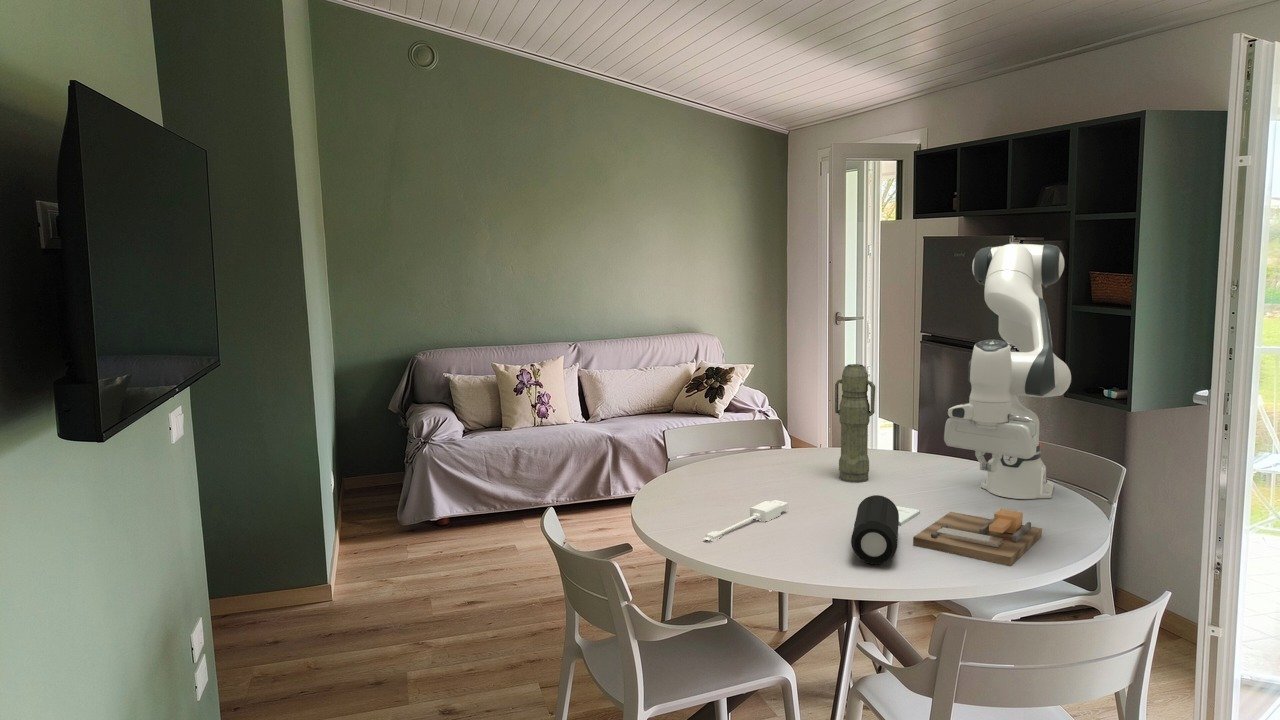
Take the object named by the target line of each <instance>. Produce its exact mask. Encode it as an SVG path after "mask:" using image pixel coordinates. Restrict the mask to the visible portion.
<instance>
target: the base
mask: <svg viewBox="0 0 1280 720" xmlns="http://www.w3.org/2000/svg"><path fill="white" fill-rule="evenodd" d="M993 522H994V517H993V518H989V517H988V518H987V517H982V516H977V515H970V514H965V513H964V514H963V513H959V512H955V511H949V512H948V513H946V514H945V515H943V516H942V517H941V518H939V519H938V520H936V521H934V522H933V523H931V525H929V526H927V527H926V528H925V529H923V530H921V531H920V532H919V533H917V534H915V535H914V536H913V537H912V545H913V546H915V547H920V548H924V549H929V550H935V551H938V552H942V553H949V554H952V555H953V554H954V555H958V556H962V557H967V558H971V559H976V560H981V561H985V562H990V563H994V564H999V565H1003V566H1008V567H1011V566H1013V565H1014V564H1015V563H1016V562H1017V561H1018V559H1019V558H1021V557H1022V556H1023V555H1024V554H1025V553H1026V552H1028V550H1029V549H1030V548H1031V547H1032V546H1033V545H1035V543H1037V542H1038V541H1039V540H1040V539H1041V538H1042V536H1043V535H1042V534H1043V533H1042V532H1043V528H1042V527H1036V526H1032V522H1031V521H1027V522H1026V523H1025V524H1022V528H1020V529H1019V530H1018V531H1017V532H1016V533H1015V534H1012V533H1007V532H1003V533H999V532H994V531H989V525H990V524H992V523H993ZM943 527H944V528H949V529H955V530H960V531H966V532H971V533H977V534H982V535H988V536H993V537H998V538H1004V543H1003V544H1001V545H1000V546H999V547H992V546H987V545H982V544H977V543H971V542H966V541H961V540H956V539H950V538H945V537H940V536H938V532H937V531H938V530H940V529H941V528H943Z"/></svg>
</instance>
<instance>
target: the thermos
mask: <svg viewBox="0 0 1280 720" xmlns="http://www.w3.org/2000/svg"><path fill="white" fill-rule="evenodd" d="M868 373H869V372H868V371H867V367H866V366H865V365H863V364H859V363H853V364H851V363H850V364H847V365H845V366H844V368H843V371H842V373H841V378H840V379H837V380H836V382H835V383H834V384H835V385H834V412H835V414H838V415H837V416H839V424H840V457H839V459H838V471H839V477H838V478H839V480H841V481H842V482H846V483H854V484H855V483H865V482H868V481H869V472H870V458H869V453H868V449H869V447H868V446H869V445H868V443H869V442H868V441H869V439H868V438H869V437H868V436H869V434H868V433H869V424H870V417H871V416H873V415H874V414H875V410H876V409H875V408H876V407H875V406H876V405H875V402H876V384H874V382H873V381H870V380H869V374H868ZM839 384H841V391H842V392H841V393H842V395H841V401H840V404H839ZM869 386H870V402H869V398H868V397H869V396H868V391H869Z"/></svg>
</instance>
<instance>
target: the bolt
mask: <svg viewBox="0 0 1280 720" xmlns="http://www.w3.org/2000/svg"><path fill="white" fill-rule="evenodd" d="M1023 516H1024V512H1021V511H1016V510H1010V509H1005V508H1000V509H998V511H996V512H995V513H994V517H993V518H994V522H993V523H992V524H990V525H989V531H994V532H999V533H1003V532H1007V533H1012V534H1015V533H1016V532H1017V531H1018V530H1019V529H1020V528H1022V525H1023V519H1024V518H1023Z"/></svg>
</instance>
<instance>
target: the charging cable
mask: <svg viewBox="0 0 1280 720" xmlns="http://www.w3.org/2000/svg"><path fill="white" fill-rule="evenodd" d="M788 509H789V502H786V501H781V500H778V499H773V500H771V501H769V500H765V501H763V502H760V503H758V504H756V505H754V506H752V507H750V508H749V517H747V518H746V519H743V520H741V521H739V522H737V523H736V524H733V525H730V526H728V527H727V528H724V529H722V530H721V531H719V530H716V531H715V530H712V531H710V532H707V533H706V534H705V537H703V538H702V540H703V539H705V540H708V541H707V542H710V541H709V540H711V539H716V538H718V537H721V538H722V536H723V534H726V533H728V532H730V531H731V530H734V529H736V528H739V527H740V526H742V525H745V524H747V523H748V522H749V523H750V522H751V521H754V520H753V519H758V520H761V521H768V520H770V521H772V520H775V519H776V517H777V518H778V516H779V517H780V516H781V514H782V512H784V511H786V510H788ZM771 519H772V520H771ZM761 521H760V522H761ZM768 522H769V521H768Z"/></svg>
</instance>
